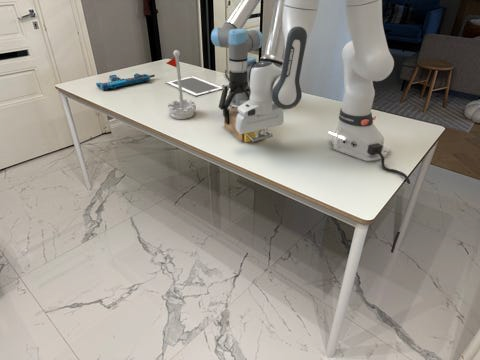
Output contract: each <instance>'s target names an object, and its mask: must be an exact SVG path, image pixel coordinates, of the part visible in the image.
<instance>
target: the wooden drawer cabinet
mask: <svg viewBox="0 0 480 360" xmlns="http://www.w3.org/2000/svg"><path fill="white" fill-rule="evenodd" d="M237 108H238V107H235V108H233V107H230V108H228V110H229V125H228V124H226V123H225V117H224V116H223V128H224V129H226V130H227V131H228V132H229V133H230V134H232V135H233V136H234V137H235V138H236V139H237V140H238V141H239V142H241V143H246V142H245V138H244V134H240V133H239V132H238V131H237V130H236V117H237V114H238V113H239V112H238V109H237Z"/></svg>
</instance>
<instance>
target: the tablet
mask: <svg viewBox="0 0 480 360" xmlns="http://www.w3.org/2000/svg"><path fill="white" fill-rule="evenodd" d="M165 84H167V85H170V86H172V87H174V88H177V89H179V88H178V79H174V80H170V81H167V82H166V81H165ZM181 85H182V92H186V93H188V94H189V95H192V96H194V97H198V96H202V95H206V94H210V93H213V92H217V91H222V90H223V89H222V86H220V85H218V84H215V83H212V82H210V81H207V80H205V79H202V78H200V77H198V76H193V75H191V76H189V77H184V78H181Z"/></svg>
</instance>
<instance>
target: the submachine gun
mask: <svg viewBox="0 0 480 360" xmlns="http://www.w3.org/2000/svg"><path fill="white" fill-rule="evenodd" d="M154 77H156V75H155V74H150V75H149V74H146V73H142V74H140V73H135V74H133V77H129V78H121V77H119V76H117V75H116V74H112V75H109V79H110V80H111V81H108V82H96V83H95V84H96V85H95V86H96V87H97V88H99V89H100V90H101V91H103V90H108V89H110V90H112V89H113V90H116V88H120V87H123V86H128V85H133V84H138V83H143V82H148V81H149V80H150V79H151V78H154Z"/></svg>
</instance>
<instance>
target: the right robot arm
mask: <svg viewBox="0 0 480 360" xmlns="http://www.w3.org/2000/svg"><path fill="white" fill-rule="evenodd" d="M319 5H320V0H285V1H284V7H283V17H282V27H283V34H284V41H285V47H284V52H283V58H282V60H283V65H282V69H281V68H279V67H277V66H276V65H274V64H273V63H272V62H270V61H263V62H260V61H258V62H259V63H256V64H255V65H254V66H253V67H252V69H251V74H250V90H251V94H250V98H249V100H248V101H247V102H245V103H243V104H242V105H240V106H238V108H237V109H238V112H239V113H238V114H237V117H236V130H237V131H238V132H239V133H240V134H244V133H249V132H254V133H255V135H256V137H260V136H264V134H265V135H266V131H267V130H268V129H270V128H274V127H280V126H283V124H284V121H285V120H284V119H285V118H284V110H290V109H294V108H295V107H297V105H299V104H300V102H301V101H302V95H303V94H302V93H303V92H302V87H301V84H300V78H301V72H302V66H303V63H304V56H305V51H306V48H307V44H308V42H309V38H310V36H311V33H312V30H313V28H314V25H315V21H316V17H317V14H318V10H319ZM345 11H346V13H345V14H346V28H347V31H348V34H349V36H350V39H351V40H350V41H348V42H347V43H345V45H344V47H343V48H342V51H341V60H342V63H343V78H344V79H343V80H344V81H343V82H344V83H343V84H344V85H343V86H344V87H343V88H344V89H343V95H342V96H343V97H342V103H341V108H340V109H339V113H338V122H337V123H338V124H337V127H336V130H335V132H332V131H328V134H330V135H332V136H333V137H332V139H331V144H332V149H333V150H334V151H336V152H340V153H343V154H344V155H345V154H346V155H348V156H351V157H354V158H356V159H359V160H361V161H365V162H374V161H379V160H380V161H381V168H382V169H383V170H385V171H386V172H393V173H395V174H398V175H400V176H402V177H403V178H404V179H405V181H406V183H407V184H408V185H410V184H411V181H410V179H409V176H408V175H407V174H406V173H404V172H402V171H400V170H397V169H394V168H388V167H386V165H385V164H386V163H385V157H387V155H388V154H389V152H390V150H389V148H387V147H386V146H385V138H384V135H383V134H382V133H381V131H379V128H377V126H376V125H375V124H374V121H375V120H376V119H377V116H373V113H372V109H373V104H374V100H375V95H376V91H375V88H374V82H381V81H384V80H386V79H387V78H388V77H389V76H390V75H391V73H392V72H393V69H394V67H395V60H394V57H393V56H392V53H391V52H390V48H389V46H388V42H387V38H386V33H385V29H384V24H383V23H384V22H383V0H345ZM259 130H262V131H261V133H260V134H258V132H259ZM267 132H268V131H267ZM400 234H401V231H396V235H395V237H394V239H393V243H392V246H391V249H390V253H391V254H393V253H394V250H395V248H396V245H397V242H398V239H399V236H400Z"/></svg>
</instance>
